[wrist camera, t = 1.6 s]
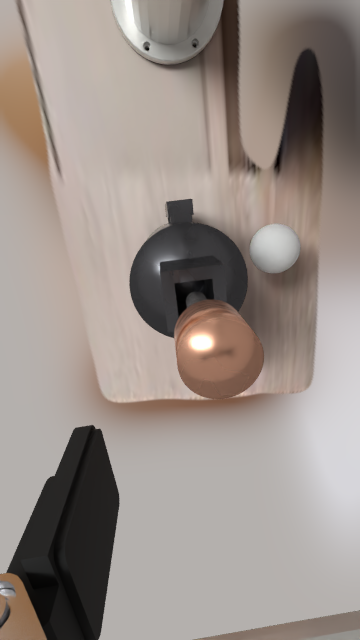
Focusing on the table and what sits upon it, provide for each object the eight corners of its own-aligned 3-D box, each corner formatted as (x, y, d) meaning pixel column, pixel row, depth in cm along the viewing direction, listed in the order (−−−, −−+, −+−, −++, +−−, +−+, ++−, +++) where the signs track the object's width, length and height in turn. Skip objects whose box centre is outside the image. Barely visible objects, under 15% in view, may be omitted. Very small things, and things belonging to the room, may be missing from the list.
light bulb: (283, 252, 45) (316, 263, 36) (246, 271, 46) (268, 286, 36) (268, 214, 43) (299, 214, 34) (230, 234, 44) (249, 239, 34)
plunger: (167, 279, 23) (172, 326, 14) (219, 272, 24) (262, 314, 14) (173, 328, 25) (182, 403, 15) (223, 321, 25) (264, 393, 15)
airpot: (131, 209, 42) (105, 205, 22) (214, 199, 42) (263, 186, 22) (148, 320, 47) (140, 398, 27) (222, 311, 47) (267, 381, 27)
